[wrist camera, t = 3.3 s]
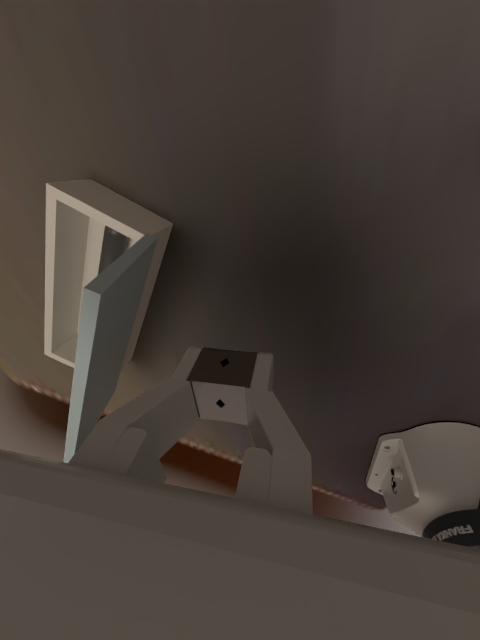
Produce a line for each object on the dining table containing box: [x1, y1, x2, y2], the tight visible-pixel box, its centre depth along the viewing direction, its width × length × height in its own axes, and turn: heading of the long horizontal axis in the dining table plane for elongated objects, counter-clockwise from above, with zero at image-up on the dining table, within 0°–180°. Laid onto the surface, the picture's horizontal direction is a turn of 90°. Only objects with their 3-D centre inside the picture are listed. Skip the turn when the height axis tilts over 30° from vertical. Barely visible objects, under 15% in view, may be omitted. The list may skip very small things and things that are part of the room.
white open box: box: [44, 179, 173, 372], centre depth 32 cm, size 10×24×6 cm, turn 153°
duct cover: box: [63, 233, 158, 463], centre depth 26 cm, size 11×25×1 cm
